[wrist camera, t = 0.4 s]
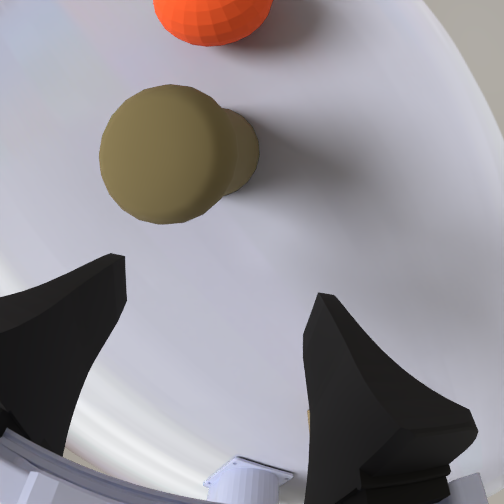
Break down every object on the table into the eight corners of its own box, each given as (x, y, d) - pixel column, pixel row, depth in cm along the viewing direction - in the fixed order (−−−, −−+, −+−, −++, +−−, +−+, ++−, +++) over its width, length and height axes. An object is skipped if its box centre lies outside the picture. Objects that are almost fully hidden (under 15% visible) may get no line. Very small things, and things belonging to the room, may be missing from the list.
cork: (246, 96, 18) (219, 38, 8) (269, 185, 20) (267, 224, 9) (159, 122, 19) (59, 106, 8) (181, 206, 21) (102, 263, 10)
